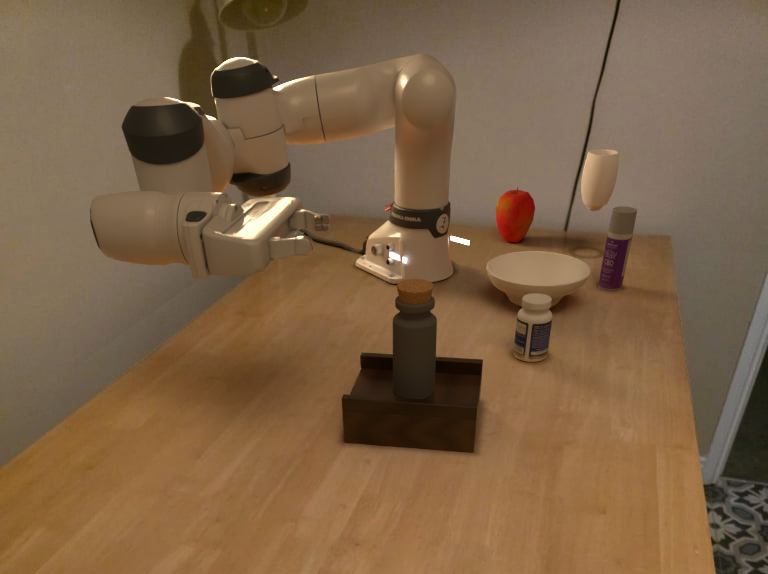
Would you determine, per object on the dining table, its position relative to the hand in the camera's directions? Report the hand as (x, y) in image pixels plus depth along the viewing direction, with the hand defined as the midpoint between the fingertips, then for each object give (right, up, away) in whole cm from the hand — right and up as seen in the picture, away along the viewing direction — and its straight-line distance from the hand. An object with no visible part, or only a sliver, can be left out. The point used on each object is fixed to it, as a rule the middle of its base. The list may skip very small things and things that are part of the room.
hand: (320, 233), depth 82 cm
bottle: (+12, -18, +12) cm, 24 cm away
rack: (+12, -21, +15) cm, 29 cm away
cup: (+55, +25, +71) cm, 93 cm away
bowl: (+37, +7, +49) cm, 62 cm away
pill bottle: (+33, -8, +31) cm, 45 cm away
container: (+54, +11, +54) cm, 77 cm away
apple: (+39, +31, +79) cm, 93 cm away
